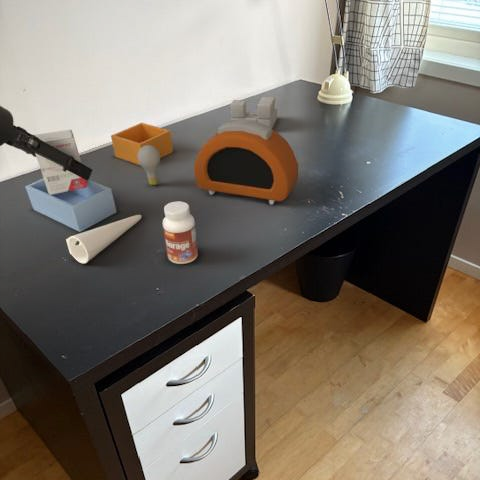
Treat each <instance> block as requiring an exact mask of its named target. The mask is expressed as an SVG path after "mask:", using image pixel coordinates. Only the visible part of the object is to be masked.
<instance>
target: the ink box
mask: <svg viewBox="0 0 480 480" xmlns="http://www.w3.org/2000/svg"><path fill="white" fill-rule="evenodd" d="M34 135H35V136H36V137H38V138H39V139H40V140H42V141H44V142H45V143H47V144H49V145H51V146H53V147H55V148H57V149H58V150H60V151H62V152H64V153H66V154H68V155H69V156H72V157H74V159H75V160H77V161H78V162H80V163H82V159H81V156H80V153H79V150H78V145H77V143H76V142H77V141H76V140H75V139H76V138H75V136H74V133H73V130H72V129H65V130H58V131H52V132H45V133H37V134H34ZM35 155H36V157H35V158H36V161H37V163H38V166H39V169H40V173H41V174H42V175H41V176H42V179H43V178H44V181H45V184H46V187H47V190H48V193H49V194H50V195H52V194H57V193H62V192H67V191H71V190H76V189H81V188H86V187H88V186H87V182H86V180H85V179H83V178H81V177H79V176H77V175H75V174H73V173H71V172H70V171H68V170H66V172H64V171H62V170H63V167H62V166H60V165H58V164H56V163H54V162H52V161H50V160H48V159H46V158H44V157H42V156H40V155H38V154H36V153H35Z"/></svg>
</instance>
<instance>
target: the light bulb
mask: <svg viewBox="0 0 480 480" xmlns="http://www.w3.org/2000/svg"><path fill="white" fill-rule="evenodd" d="M137 157H138V162H139V164H140V165H139V166H141V168H142V169H143V170H144V171H145V172H146V175H147V176H146V177H147V179H148V184H149V185H151V186H155V185H157V184H158V177H157V175H158V174H157V170H158V167H159V165H160V163H161V158H160V153H159V151H158V150H157V149H156V148H155V147H153V146H151V145H146V146H143V147H142V148H140V150H139V151H138V155H137Z"/></svg>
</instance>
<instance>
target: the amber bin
mask: <svg viewBox="0 0 480 480" xmlns="http://www.w3.org/2000/svg"><path fill="white" fill-rule="evenodd" d="M110 139H111V143H112V147H113V152H114V157H115V158H117V159H121V160H124V161H127V162H130V163H133V164H135V165H137V166H138V165H139V166H141V165H140V164H139V162H138V157H137V155H138V151H139V150H140V148H142V147H143V146H146V145H151V146H153V147H155V148H156V149H157V150H158V151H159V153H160V159H162V158H164V157H165V156H168V155H170V154H172V153H174V147H173V140H172V131H171V130H170V129H165V128H162V127H158V126H155V125H152V124H148V123H145V122H140V123H137V124H135V125H133V126H130V127H128V128H125V129H123V130H121V131H119V132H116V133H113V134H112V135H110Z"/></svg>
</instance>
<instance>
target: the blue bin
mask: <svg viewBox="0 0 480 480" xmlns="http://www.w3.org/2000/svg"><path fill="white" fill-rule="evenodd" d="M86 182H87V186H88V187H86V188H81V189H76V190H71V191H67V192H62V193H57V194H52V195H50V194H49V193H48V190H47V187H46V184H45V181H44V178H43V177H42V178H41V179H39V180H36V181H34V182H32V183H30V184H27V185H25V186H24V187H25V190H26V193H27V196H28V198H29V201H30V203H31V207H32V209H33V210H34V211H35V212H37V213H39V214H41V215H44V216H45V217H48V218H50V219H52V220H54V221H56V222H59V223H61V224H62V225H64V226H66V227H68V228H71V229H73V230H74V231H77V232H79V233H82V232H84V231H86V229H88V228H91V227H92V226H94V225H96V224H98V223H100V222H101V221H103V220H105V219H107V218H108V217H110V216H112V215H114V214H116V213H117V209H116V208H117V207H116V204H115V200H114V199H115V198H114V194H113V191H112V188H111V187H109V186H106V185H103V184H100V183H99V182H96V181H93V180H90V179H89V180H88V181H87V180H86Z"/></svg>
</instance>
